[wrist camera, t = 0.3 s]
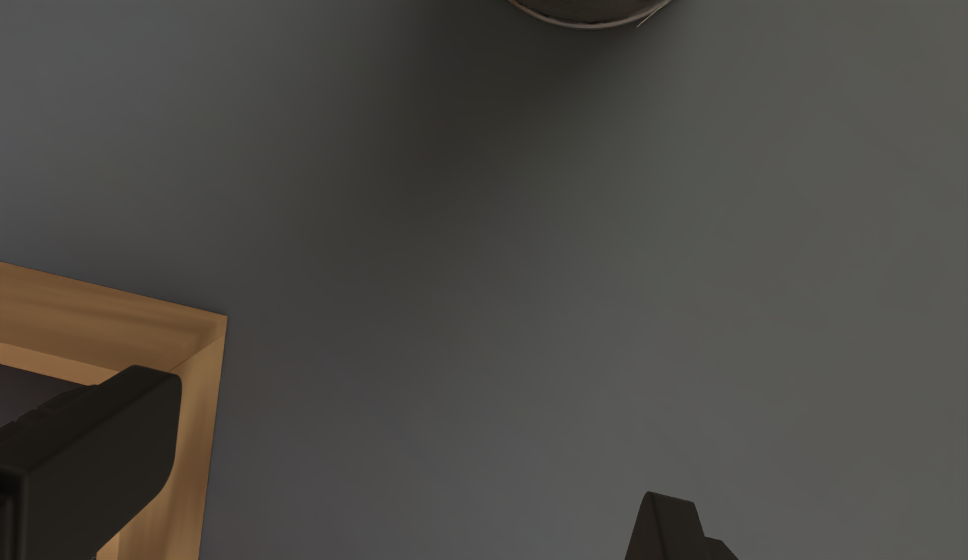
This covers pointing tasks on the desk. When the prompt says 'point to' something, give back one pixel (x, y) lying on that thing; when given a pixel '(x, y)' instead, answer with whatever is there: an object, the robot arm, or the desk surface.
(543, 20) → the robot arm
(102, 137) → the desk surface
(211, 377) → the birch box
